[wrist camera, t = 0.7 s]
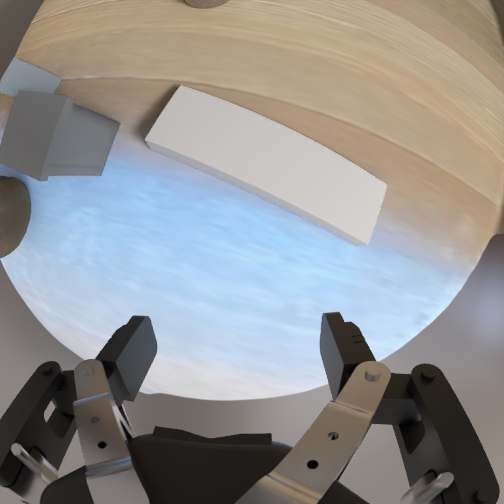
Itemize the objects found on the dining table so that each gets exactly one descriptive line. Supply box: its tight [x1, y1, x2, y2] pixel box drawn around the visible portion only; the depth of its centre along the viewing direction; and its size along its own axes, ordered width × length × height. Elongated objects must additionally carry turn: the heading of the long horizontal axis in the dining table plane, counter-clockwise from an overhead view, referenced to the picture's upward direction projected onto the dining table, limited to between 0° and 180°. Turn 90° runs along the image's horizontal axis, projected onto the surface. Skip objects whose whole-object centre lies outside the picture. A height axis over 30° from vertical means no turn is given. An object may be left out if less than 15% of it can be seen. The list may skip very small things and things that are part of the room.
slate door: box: [0, 57, 62, 97], centre depth 26 cm, size 3×6×13 cm, turn 142°
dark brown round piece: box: [0, 176, 31, 258], centre depth 31 cm, size 14×14×15 cm
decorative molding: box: [145, 85, 387, 246], centre depth 37 cm, size 34×5×10 cm
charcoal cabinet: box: [0, 90, 120, 181], centre depth 28 cm, size 17×10×15 cm, turn 67°
